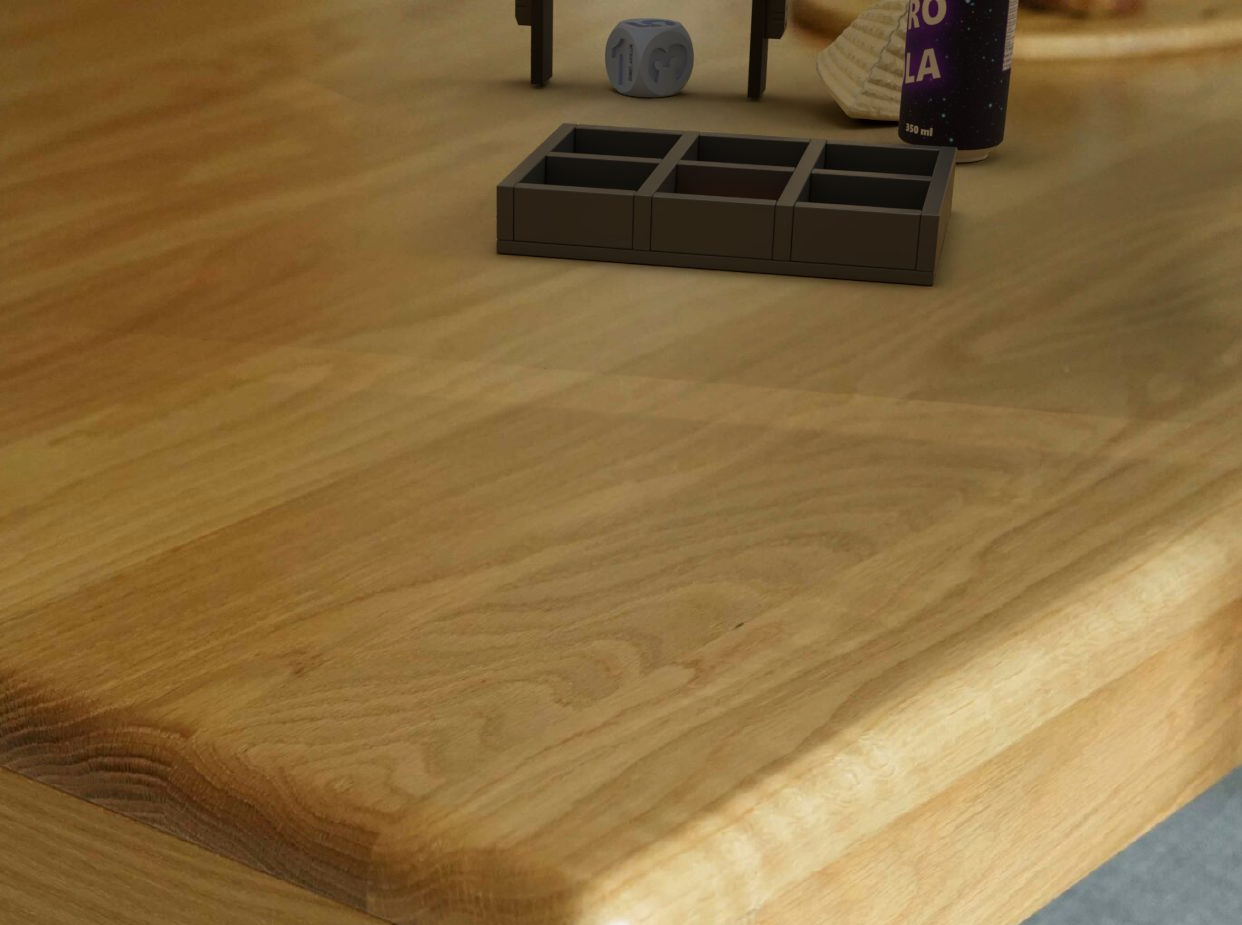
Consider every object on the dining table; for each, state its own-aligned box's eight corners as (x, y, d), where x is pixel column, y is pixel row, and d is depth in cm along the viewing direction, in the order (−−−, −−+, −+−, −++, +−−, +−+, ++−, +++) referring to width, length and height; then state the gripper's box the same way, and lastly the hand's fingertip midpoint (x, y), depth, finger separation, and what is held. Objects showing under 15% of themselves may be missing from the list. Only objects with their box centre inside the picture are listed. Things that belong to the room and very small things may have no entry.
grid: (951, 210, 102) (957, 147, 100) (932, 285, 90) (939, 215, 89) (561, 183, 106) (562, 122, 104) (496, 253, 94) (496, 185, 93)
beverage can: (925, 137, 116) (945, -89, 111) (1018, 151, 113) (1044, -80, 108) (878, 155, 112) (896, -78, 107) (973, 171, 109) (998, -69, 104)
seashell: (981, 63, 124) (986, 13, 116) (907, 184, 124) (906, 143, 116) (865, 0, 125) (862, -53, 117) (792, 120, 126) (783, 76, 118)
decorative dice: (603, 88, 127) (604, 21, 125) (657, 82, 129) (659, 15, 127) (638, 100, 124) (640, 31, 122) (693, 93, 126) (696, 26, 124)
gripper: (430, -300, 116) (436, 87, 126) (873, -289, 111) (843, 112, 121) (465, -304, 123) (468, 63, 132) (885, -295, 118) (856, 86, 128)
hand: (647, 87), depth 127 cm, fingers open, 13 cm apart
